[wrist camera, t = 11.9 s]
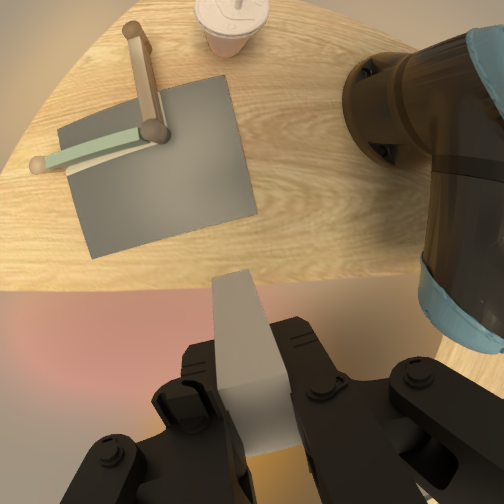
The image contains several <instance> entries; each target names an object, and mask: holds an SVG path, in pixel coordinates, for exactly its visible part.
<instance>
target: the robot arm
mask: <svg viewBox="0 0 504 504" xmlns="http://www.w3.org/2000/svg"><path fill="white" fill-rule="evenodd" d="M343 111H344V117H345V120H346V124H347V126H348V129H349V131H350V133H351V135H352V137H353V139H354V140H355V142H356V144H357V145H358V146H359V148H360V149H361V150H362V151H363V152H364V153H365V154H366V155H367V156H368V157H369V158H370V159H372V160H373V161H375V162H376V163H378V164H380V165H382V166H384V167H387V168H390V169H396V170H416V169H420V168H423V167H425V166H427V165H430V164H432V170H431V171H432V172H431V184H430V200H429V212H428V222H427V231H426V239H425V246H424V251H423V252H422V253H421V256H420V264H421V272H420V280H419V287H418V299H419V303H420V306H421V309H422V310H423V312H424V314H425V315H426V317H427V318H428V319H429V320H430V321H431V323H432V324H433V325H434V327H436V328H437V329H438V330H439V331H440V332H441V333H443V334H444V335H445V336H447V337H448V338H449V339H451V340H453V341H454V342H456V343H458V344H460V345H462V346H464V347H466V348H468V349H471V350H474V351H477V352H480V353H485V354H498V353H499V352H500V353H502V354H503V353H504V25H495V26H489V27H484V28H473V29H471V30H469V31H468V32H467V33H464V34H461V35H459V36H456V37H453V38H451V39H448V40H446V41H443V42H440V43H438V44H435V45H433V46H430V47H428V48H426V49H423V50H420V51H418V52H416V53H414V54H412V53H397V52H384V53H379V54H375V55H373V56H371V57H369V58H367V59H365V60H363V61H362V62H360V63H359V64H358V65H356V66H355V67H354V69H353V70H352V71H351V73H350V74H349V76H348V78H347V80H346V83H345V86H344V91H343ZM212 296H213V316H214V317H213V319H214V340H210V341H205V342H201V343H197V344H192V345H189V347H188V348H187V350H186V351H185V353H184V354H183V356H182V369H181V377H180V378H177V379H174V380H171V381H169V382H168V383H166V384H165V385H163V386H161V387H160V388H159V389H158V390H157V392H155V394H154V396H153V398H152V401H151V402H152V404H153V406H154V407H155V409H156V411H157V413H158V414H159V416H160V417H161V419H162V421H163V422H164V424H165V426H166V430H165V431H163V432H162V433H160V434H158V435H156V436H154V437H151V438H148V439H146V440H143V441H140V442H138V443H135V442H134V441H133V440H132V439H131V438H130V437H129V436H126V435H122V434H111V435H109V436H105V437H103V438H101V439H100V440H98V441H97V442H95V443H94V445H93V446H92V447H91V448H90V449H89V451H88V453H87V455H86V456H85V458H84V460H83V462H82V463H81V466H80V467H79V469H78V471H77V473H76V474H75V476H74V478H73V480H72V482H71V483H70V485H69V487H68V489H67V491H66V493H65V495H64V497H63V498H62V500H61V502H60V504H257V501H256V496H255V491H254V486H253V480H252V475H251V472H250V470H249V468H248V466H247V463H246V457H245V453H246V455H247V457H253V456H257V455H262V454H266V453H270V452H274V451H278V450H282V449H285V448H289V447H293V446H296V445H300V444H303V446H304V448H305V452H306V457H307V462H308V466H309V471H310V473H312V475H313V479H314V481H315V484H316V487H317V490H318V493H319V496H320V499H321V502H322V504H428V503H427V501H426V500H425V498H424V496H423V495H422V493H421V491H420V490H419V488H418V486H417V485H416V483H417V484H418V485H419V486H420V487H421V488H423V489H424V490H425V491H426V492H427V493H428V494H429V495H430V496H431V497H433V498H434V499H435V500H436V501H437V502H438V503H439V504H504V400H503V399H501V398H500V397H498V396H496V395H495V394H493V393H491V392H490V391H488V390H486V389H485V388H483V387H481V386H479V385H478V384H476V383H474V382H473V381H471V380H469V379H468V378H466V377H464V376H463V375H461V374H459V373H458V372H456V371H454V370H452V369H451V368H449V367H447V366H446V365H444V364H442V363H441V362H439V361H437V360H434V359H432V358H429V357H413V358H408V359H406V360H403V361H401V362H399V363H398V364H397V365H396V366H395V367H394V368H393V369H392V372H391V374H390V377H389V378H386V379H379V380H372V381H358V380H353V379H351V378H349V377H348V376H347V375H346V374H345V373H342V372H340V371H338V370H337V369H336V367H335V366H334V364H333V362H332V360H331V359H330V357H329V356H328V354H327V352H326V351H325V349H324V347H323V346H322V344H321V343H320V341H319V339H318V337H317V336H316V334H315V333H314V331H313V329H312V327H311V326H310V324H309V322H307V321H305V320H303V319H302V318H300V317H298V316H297V317H293V318H289V319H286V320H283V321H279V322H276V323H272V324H269V323H268V320H267V317H266V315H265V312H264V309H263V307H262V304H261V301H260V299H259V296H258V293H257V290H256V288H255V285H254V282H253V280H252V277H251V274H250V271H249V269H246V270H242V271H238V272H234V273H231V274H227V275H223V276H219V277H215V278H212ZM415 482H416V483H415Z"/></svg>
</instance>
